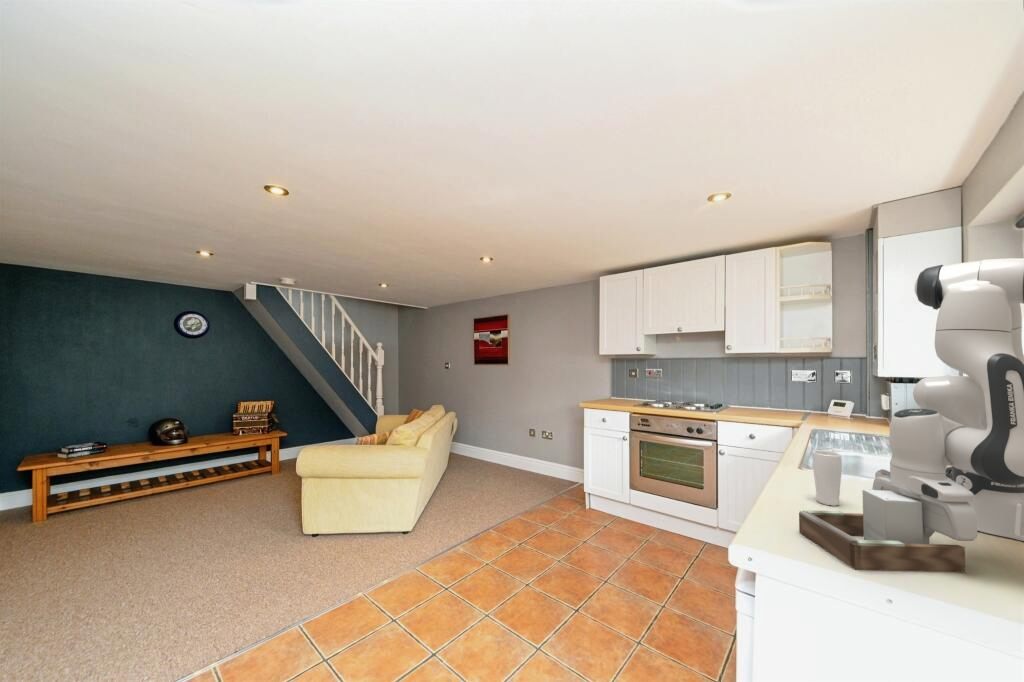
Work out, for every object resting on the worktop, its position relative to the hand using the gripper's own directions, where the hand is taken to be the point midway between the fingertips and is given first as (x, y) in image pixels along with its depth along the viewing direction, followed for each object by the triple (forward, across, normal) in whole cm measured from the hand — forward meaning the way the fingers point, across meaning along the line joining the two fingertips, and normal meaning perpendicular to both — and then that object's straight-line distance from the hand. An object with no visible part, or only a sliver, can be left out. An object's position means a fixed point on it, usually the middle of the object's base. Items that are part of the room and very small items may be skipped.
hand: (919, 541), depth 87 cm
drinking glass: (+2, -28, +1) cm, 28 cm away
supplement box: (+2, 0, -6) cm, 6 cm away
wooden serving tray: (+2, 0, -10) cm, 10 cm away
